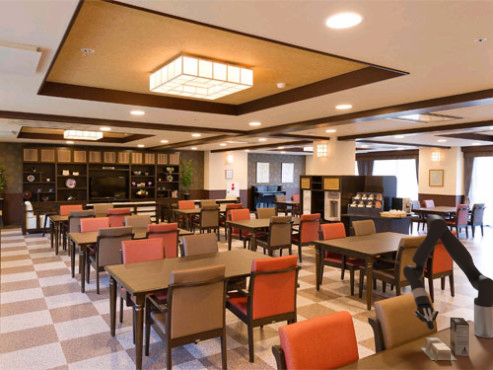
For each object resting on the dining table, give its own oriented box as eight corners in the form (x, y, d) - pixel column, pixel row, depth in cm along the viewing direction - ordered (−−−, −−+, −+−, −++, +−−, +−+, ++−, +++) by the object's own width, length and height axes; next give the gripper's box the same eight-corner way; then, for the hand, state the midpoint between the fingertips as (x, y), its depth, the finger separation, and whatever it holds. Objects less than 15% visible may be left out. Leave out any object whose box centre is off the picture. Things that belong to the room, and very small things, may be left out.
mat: (420, 348, 196) (420, 347, 196) (444, 348, 195) (444, 347, 195) (432, 360, 183) (432, 359, 183) (457, 360, 182) (457, 359, 182)
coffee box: (449, 347, 197) (449, 316, 196) (463, 348, 195) (462, 317, 195) (455, 355, 188) (455, 323, 187) (469, 356, 186) (469, 324, 186)
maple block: (425, 337, 197) (438, 349, 183) (437, 337, 196) (451, 349, 182) (425, 346, 197) (438, 359, 183) (437, 346, 197) (451, 359, 183)
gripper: (411, 295, 206) (420, 326, 193) (435, 294, 205) (447, 326, 193) (407, 301, 211) (416, 332, 199) (431, 301, 210) (442, 332, 198)
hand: (431, 329), depth 196 cm, fingers closed
